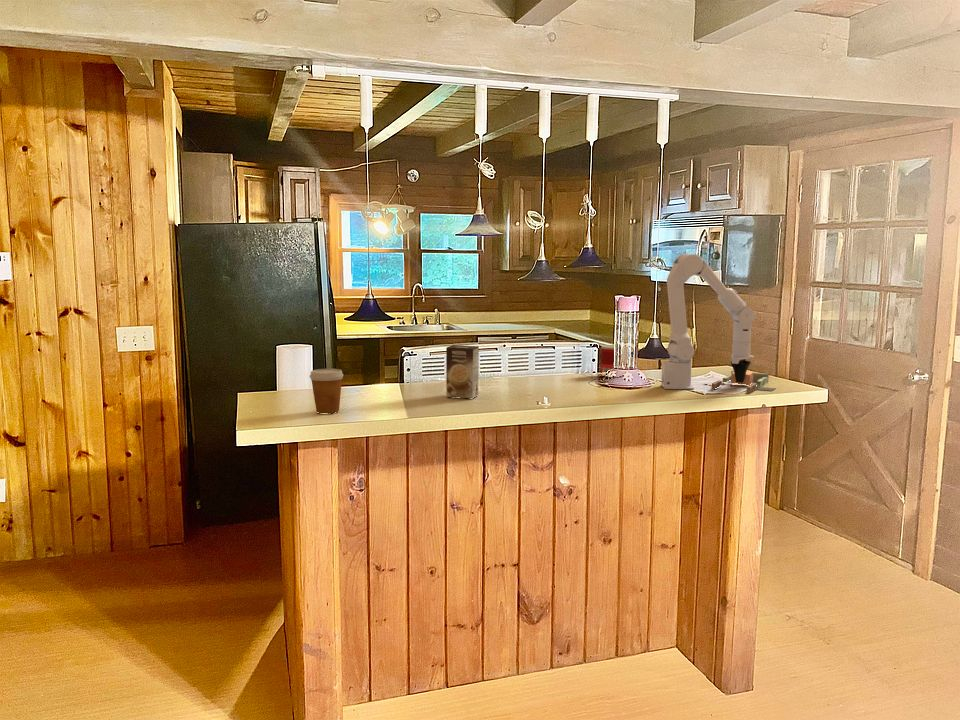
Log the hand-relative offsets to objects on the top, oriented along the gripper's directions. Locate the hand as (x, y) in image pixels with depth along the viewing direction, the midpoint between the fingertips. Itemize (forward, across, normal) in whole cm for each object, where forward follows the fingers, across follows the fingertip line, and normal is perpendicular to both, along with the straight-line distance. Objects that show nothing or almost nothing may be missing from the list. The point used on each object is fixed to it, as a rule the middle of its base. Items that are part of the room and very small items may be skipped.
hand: (739, 382), depth 256 cm
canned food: (+2, -4, +45) cm, 45 cm away
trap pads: (+1, -1, 0) cm, 2 cm away
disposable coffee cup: (+2, -104, +88) cm, 136 cm away
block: (+1, +4, 0) cm, 5 cm away
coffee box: (+2, -64, +68) cm, 94 cm away
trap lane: (+1, +1, 0) cm, 2 cm away
